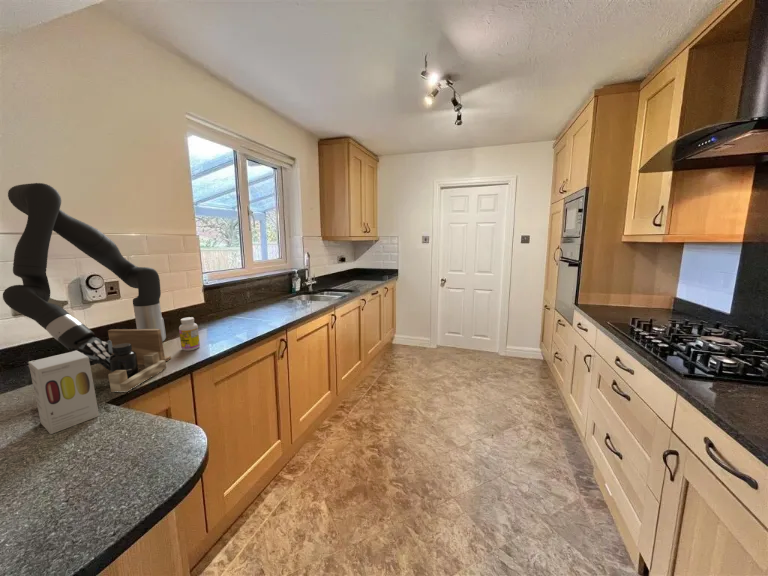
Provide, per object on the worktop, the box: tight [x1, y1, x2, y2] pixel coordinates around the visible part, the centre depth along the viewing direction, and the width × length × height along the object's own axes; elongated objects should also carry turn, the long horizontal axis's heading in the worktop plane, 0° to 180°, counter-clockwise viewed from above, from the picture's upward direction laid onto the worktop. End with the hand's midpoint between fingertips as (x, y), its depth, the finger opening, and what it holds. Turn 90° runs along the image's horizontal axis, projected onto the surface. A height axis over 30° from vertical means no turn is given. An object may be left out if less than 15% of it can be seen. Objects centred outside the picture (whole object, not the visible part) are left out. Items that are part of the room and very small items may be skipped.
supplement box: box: [27, 350, 100, 435], centre depth 80 cm, size 10×9×17 cm
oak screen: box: [107, 328, 172, 365], centre depth 116 cm, size 5×18×13 cm, turn 90°
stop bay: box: [107, 353, 167, 392], centre depth 102 cm, size 17×5×6 cm, turn 0°
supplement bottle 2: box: [178, 316, 201, 352], centre depth 129 cm, size 7×7×13 cm
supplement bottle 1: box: [110, 343, 140, 379], centre depth 102 cm, size 7×7×12 cm
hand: (114, 367), depth 102 cm, fingers closed
